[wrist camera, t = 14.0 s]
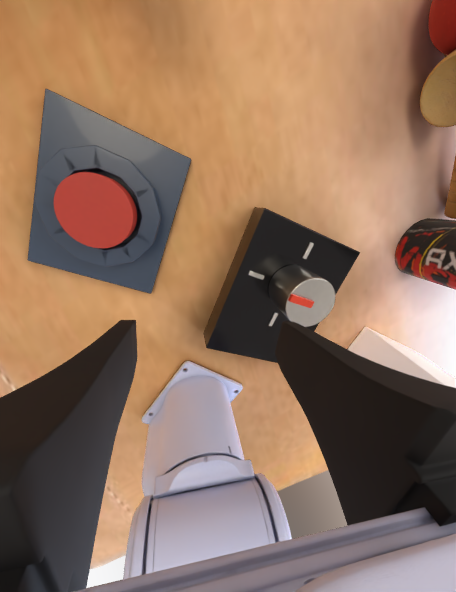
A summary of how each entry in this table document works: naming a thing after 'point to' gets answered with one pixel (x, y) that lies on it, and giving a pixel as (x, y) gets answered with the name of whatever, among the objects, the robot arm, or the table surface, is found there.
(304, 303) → the dial
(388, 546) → the robot arm
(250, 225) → the hob panel
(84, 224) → the push knob
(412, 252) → the deodorant
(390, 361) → the milk
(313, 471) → the table surface
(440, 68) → the kendama
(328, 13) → the table surface
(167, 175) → the button base
